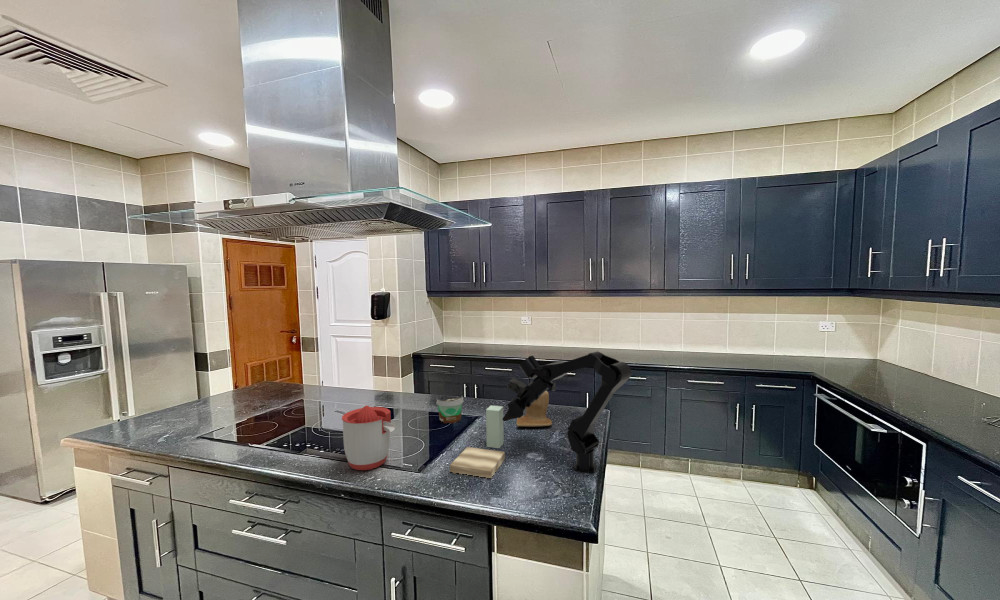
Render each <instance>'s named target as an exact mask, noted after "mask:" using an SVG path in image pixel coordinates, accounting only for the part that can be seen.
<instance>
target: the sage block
mask: <svg viewBox="0 0 1000 600" xmlns="http://www.w3.org/2000/svg"><path fill="white" fill-rule="evenodd" d="M503 417H504V406H501V405H489V407H487V408H486V409H485V421H486V422H485V424H486V425H485V426H486V427H485V428H486V429H485V430H486V431H485V432H486V447H487V448H494V449H500V448H501V447H503V444H504V440H505V439H504V421H503V420H502V419H503Z"/></svg>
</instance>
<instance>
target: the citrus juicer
mask: <svg viewBox="0 0 1000 600" xmlns="http://www.w3.org/2000/svg"><path fill="white" fill-rule="evenodd" d="M391 415H392V414H391V410H390V409H388V408H387V407H382V406H369V405H364V406H363V407H361V408H357V409H353V410H349V411H347V412H345V414H343V415H342V416H341V420H342V435H343V437H342V438H343V449H344V453H345V458H346V460H347V463H348V465H349V467H350V468H351V469H353V470H356V471H368V470H374V469H373V468H378V467H380V466H382V465H384V463H386V461H387V458H388V455H389V451H390V446H391V433H393V432H394V431H395V429H396V425H395V423H392V421H391V420H392V419H391Z"/></svg>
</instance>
